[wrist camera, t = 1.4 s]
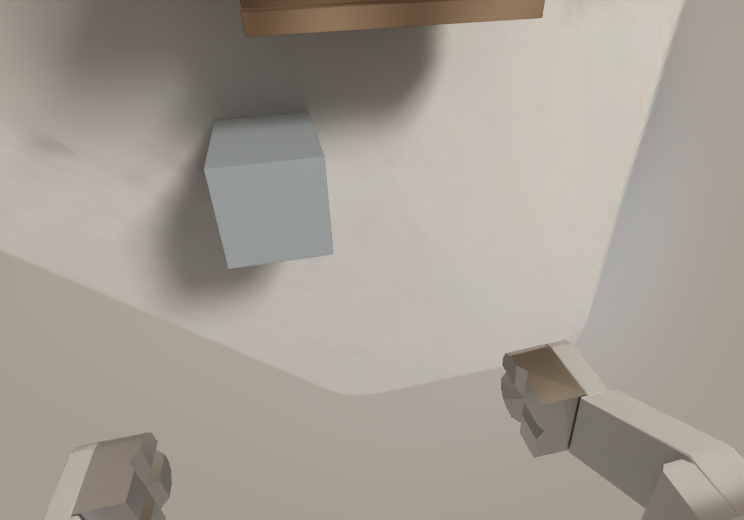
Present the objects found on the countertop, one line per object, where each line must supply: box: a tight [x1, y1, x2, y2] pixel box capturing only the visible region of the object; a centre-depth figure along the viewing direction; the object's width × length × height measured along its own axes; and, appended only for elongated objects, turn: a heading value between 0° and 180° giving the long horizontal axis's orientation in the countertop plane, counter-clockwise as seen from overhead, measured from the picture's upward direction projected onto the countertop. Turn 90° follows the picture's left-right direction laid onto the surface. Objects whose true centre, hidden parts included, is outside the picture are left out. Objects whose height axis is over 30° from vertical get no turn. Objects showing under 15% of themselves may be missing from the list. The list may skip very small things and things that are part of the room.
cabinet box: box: [204, 111, 333, 269], centre depth 24 cm, size 5×6×7 cm
